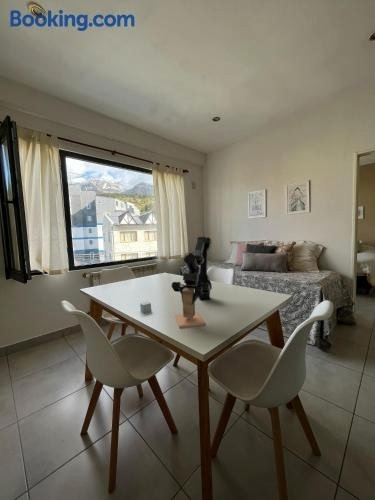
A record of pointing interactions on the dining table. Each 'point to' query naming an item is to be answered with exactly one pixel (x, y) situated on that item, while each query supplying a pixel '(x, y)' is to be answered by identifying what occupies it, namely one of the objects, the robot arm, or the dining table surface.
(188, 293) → the walnut block
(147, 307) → the blue-grey cube
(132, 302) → the dining table surface
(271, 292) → the dining table surface
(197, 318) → the terracotta tile
